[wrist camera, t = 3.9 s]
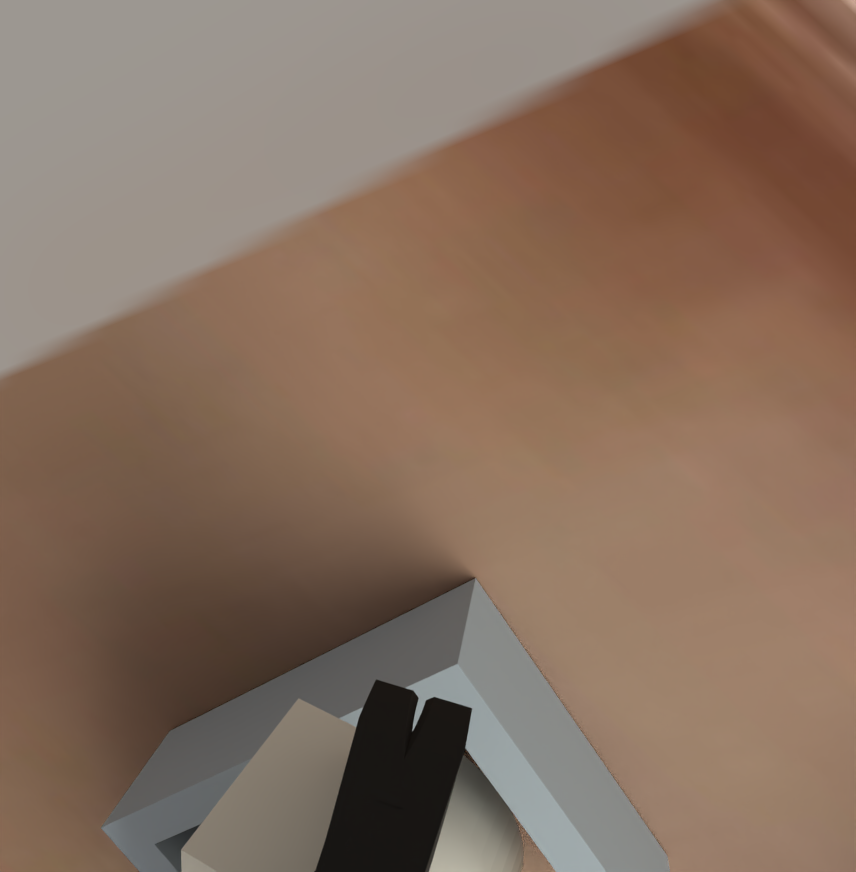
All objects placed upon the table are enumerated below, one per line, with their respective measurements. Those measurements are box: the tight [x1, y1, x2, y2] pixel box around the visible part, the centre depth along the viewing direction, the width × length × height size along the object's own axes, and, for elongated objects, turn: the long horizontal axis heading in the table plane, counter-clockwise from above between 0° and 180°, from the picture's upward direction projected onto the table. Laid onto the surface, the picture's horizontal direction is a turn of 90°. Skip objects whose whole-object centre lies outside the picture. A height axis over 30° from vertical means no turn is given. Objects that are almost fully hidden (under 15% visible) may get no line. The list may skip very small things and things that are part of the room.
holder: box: [101, 578, 670, 872], centre depth 19 cm, size 11×10×3 cm
